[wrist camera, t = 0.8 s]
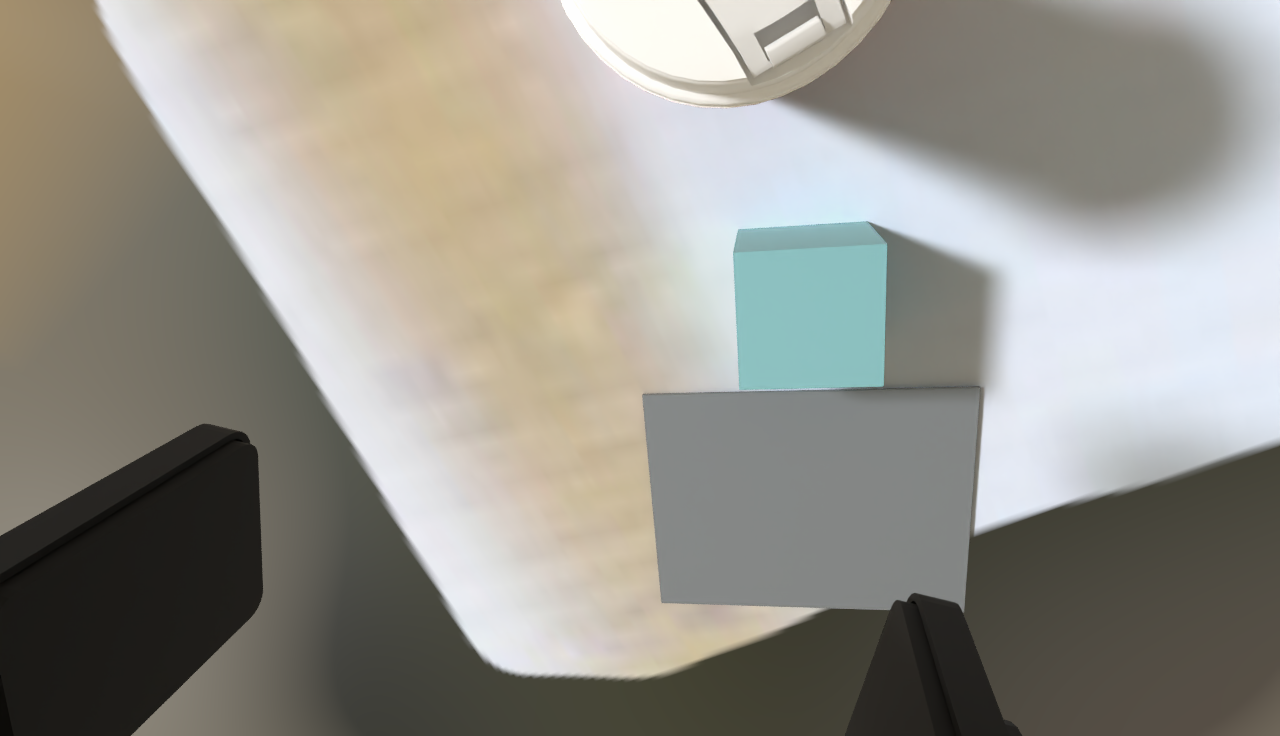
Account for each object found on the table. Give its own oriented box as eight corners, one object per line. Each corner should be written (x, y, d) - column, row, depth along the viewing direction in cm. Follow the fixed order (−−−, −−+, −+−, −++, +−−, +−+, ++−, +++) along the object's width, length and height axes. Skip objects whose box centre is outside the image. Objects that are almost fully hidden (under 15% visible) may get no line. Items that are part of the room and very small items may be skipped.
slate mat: (978, 386, 29) (980, 388, 29) (962, 609, 33) (964, 612, 33) (643, 393, 32) (642, 395, 32) (662, 600, 36) (661, 602, 35)
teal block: (867, 221, 28) (887, 244, 23) (865, 342, 30) (883, 386, 25) (738, 229, 29) (733, 252, 24) (743, 346, 31) (739, 389, 26)
